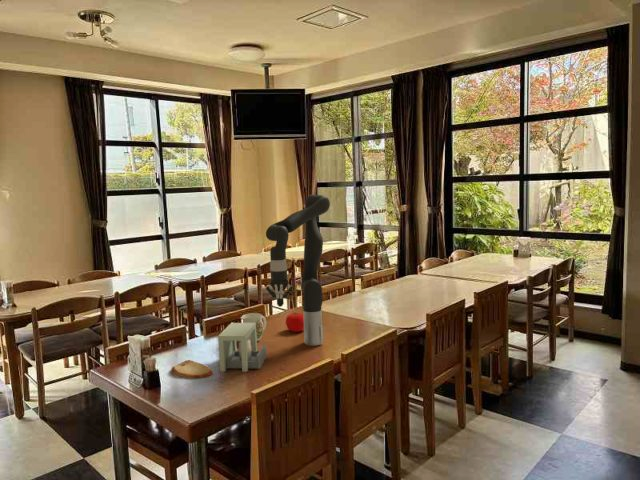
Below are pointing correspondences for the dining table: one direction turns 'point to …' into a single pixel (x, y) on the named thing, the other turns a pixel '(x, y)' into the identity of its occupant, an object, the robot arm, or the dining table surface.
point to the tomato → (295, 322)
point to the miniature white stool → (229, 342)
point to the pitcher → (259, 324)
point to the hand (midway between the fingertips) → (280, 306)
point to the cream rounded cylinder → (249, 355)
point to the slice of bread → (191, 370)
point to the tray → (256, 361)
